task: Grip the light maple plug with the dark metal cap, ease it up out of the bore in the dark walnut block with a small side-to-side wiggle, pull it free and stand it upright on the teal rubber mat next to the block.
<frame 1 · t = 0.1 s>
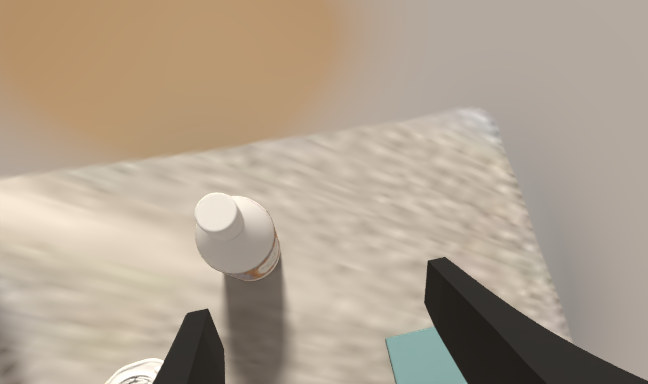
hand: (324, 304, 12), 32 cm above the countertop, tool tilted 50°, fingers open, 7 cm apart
teal mat: (430, 361, 41), on the countertop
bath foam: (252, 252, 44), on the countertop
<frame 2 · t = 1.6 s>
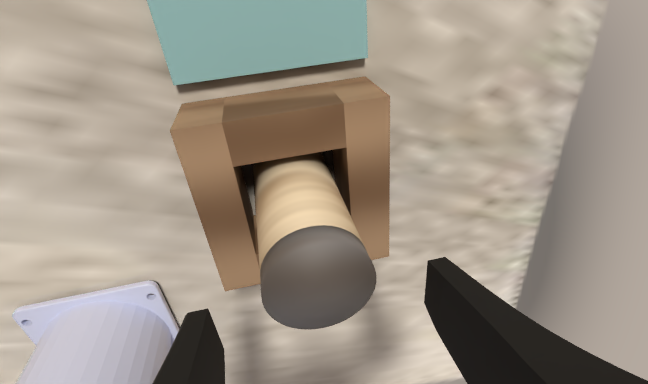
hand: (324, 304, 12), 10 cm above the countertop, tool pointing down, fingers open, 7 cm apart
maple plug: (301, 216, 16), in the walnut block
walnut block: (289, 170, 20), on the countertop
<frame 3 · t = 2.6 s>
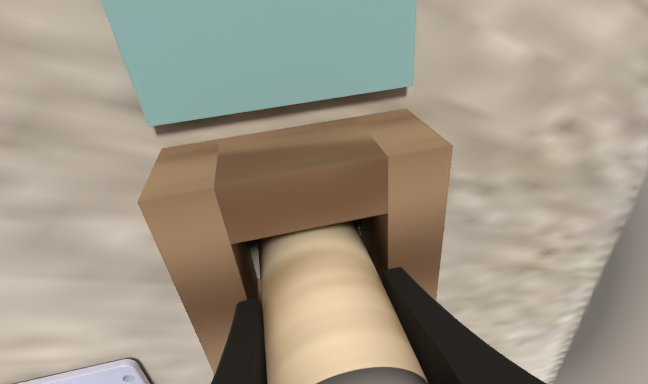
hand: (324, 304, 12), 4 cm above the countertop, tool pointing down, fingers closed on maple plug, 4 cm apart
maple plug: (325, 306, 12), in the walnut block, touching gripper
walnut block: (304, 226, 15), on the countertop
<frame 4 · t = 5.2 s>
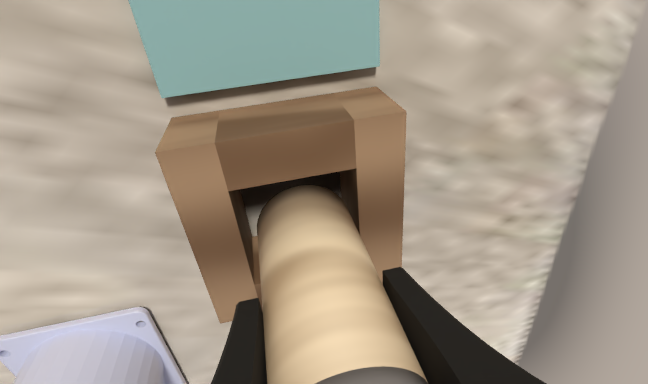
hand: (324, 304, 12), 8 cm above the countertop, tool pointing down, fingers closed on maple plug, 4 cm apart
maple plug: (325, 306, 12), point 8 cm above the countertop, touching gripper
walnut block: (291, 188, 18), on the countertop
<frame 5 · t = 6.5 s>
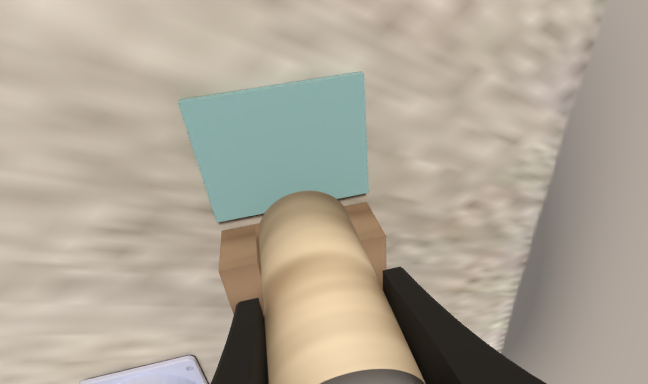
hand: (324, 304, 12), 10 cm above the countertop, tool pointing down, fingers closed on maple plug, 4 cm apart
maple plug: (325, 310, 12), point 10 cm above the countertop, touching gripper
teal mat: (284, 149, 19), on the countertop
walnut block: (305, 269, 24), on the countertop
when the fingers open (6 cm above the countertop, at t = 7.8 s): maple plug stays where it is, resting on teal mat.
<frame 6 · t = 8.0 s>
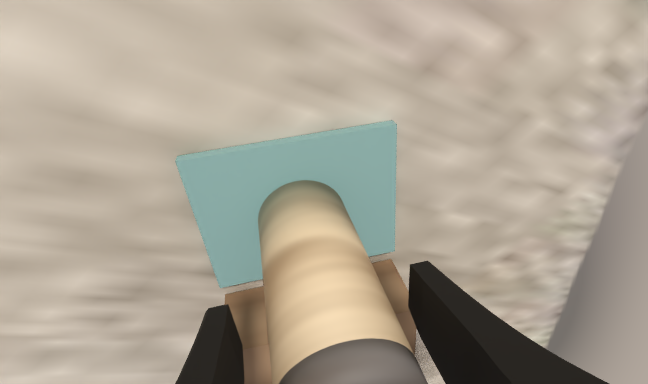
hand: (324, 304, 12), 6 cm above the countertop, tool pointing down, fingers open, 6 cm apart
maple plug: (322, 291, 13), on the teal mat
teal mat: (299, 206, 17), on the countertop
walnut block: (318, 330, 21), on the countertop
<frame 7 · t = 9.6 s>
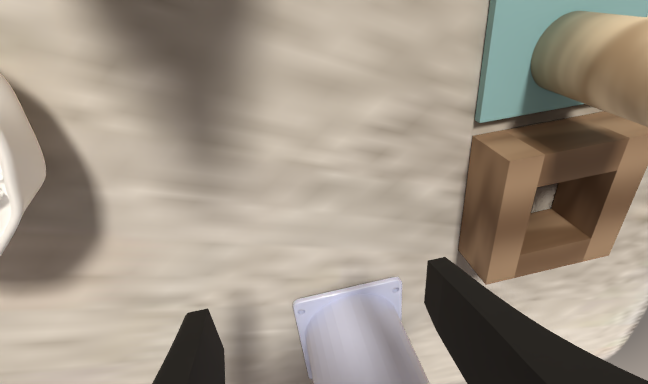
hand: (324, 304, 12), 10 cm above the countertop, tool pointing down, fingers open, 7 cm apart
maple plug: (645, 71, 15), on the teal mat
teal mat: (559, 44, 19), on the countertop
walnut block: (526, 185, 24), on the countertop
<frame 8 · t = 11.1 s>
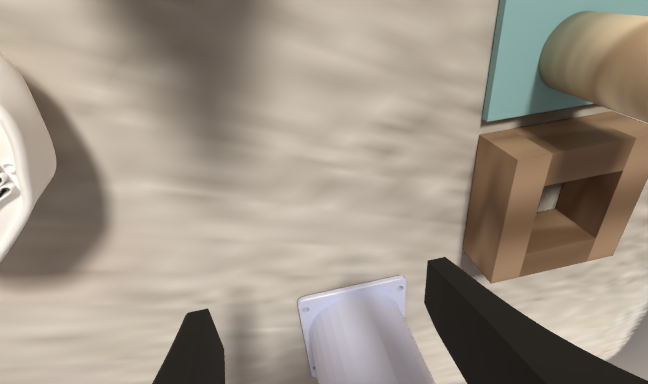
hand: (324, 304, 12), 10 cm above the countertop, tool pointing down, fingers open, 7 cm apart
teal mat: (567, 44, 20), on the countertop
walnut block: (531, 185, 24), on the countertop
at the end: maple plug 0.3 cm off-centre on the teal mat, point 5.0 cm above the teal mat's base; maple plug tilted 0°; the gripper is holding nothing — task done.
